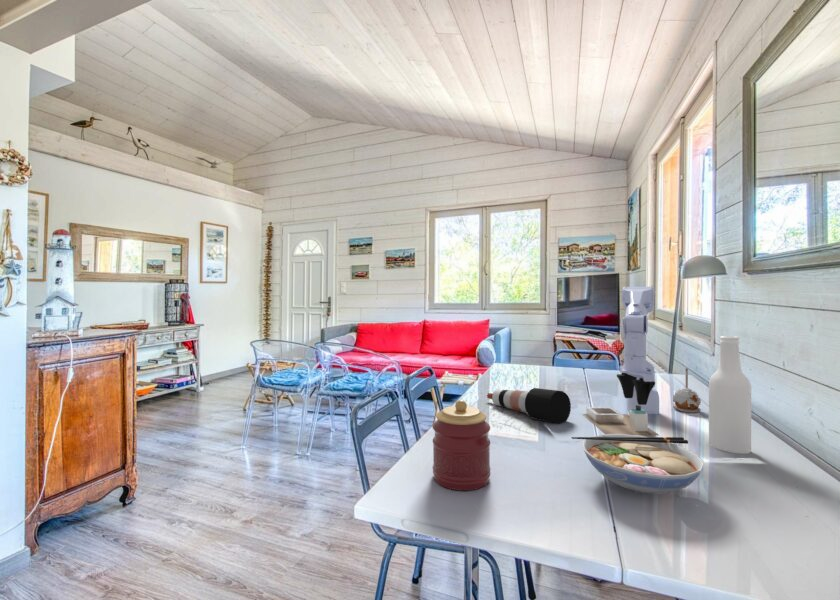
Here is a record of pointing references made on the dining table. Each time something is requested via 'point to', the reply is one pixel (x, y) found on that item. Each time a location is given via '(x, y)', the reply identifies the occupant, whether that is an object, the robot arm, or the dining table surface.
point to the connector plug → (638, 419)
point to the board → (619, 427)
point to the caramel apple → (686, 399)
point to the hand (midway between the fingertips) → (635, 401)
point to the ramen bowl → (643, 461)
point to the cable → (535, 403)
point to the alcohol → (730, 401)
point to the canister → (461, 448)
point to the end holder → (604, 415)
